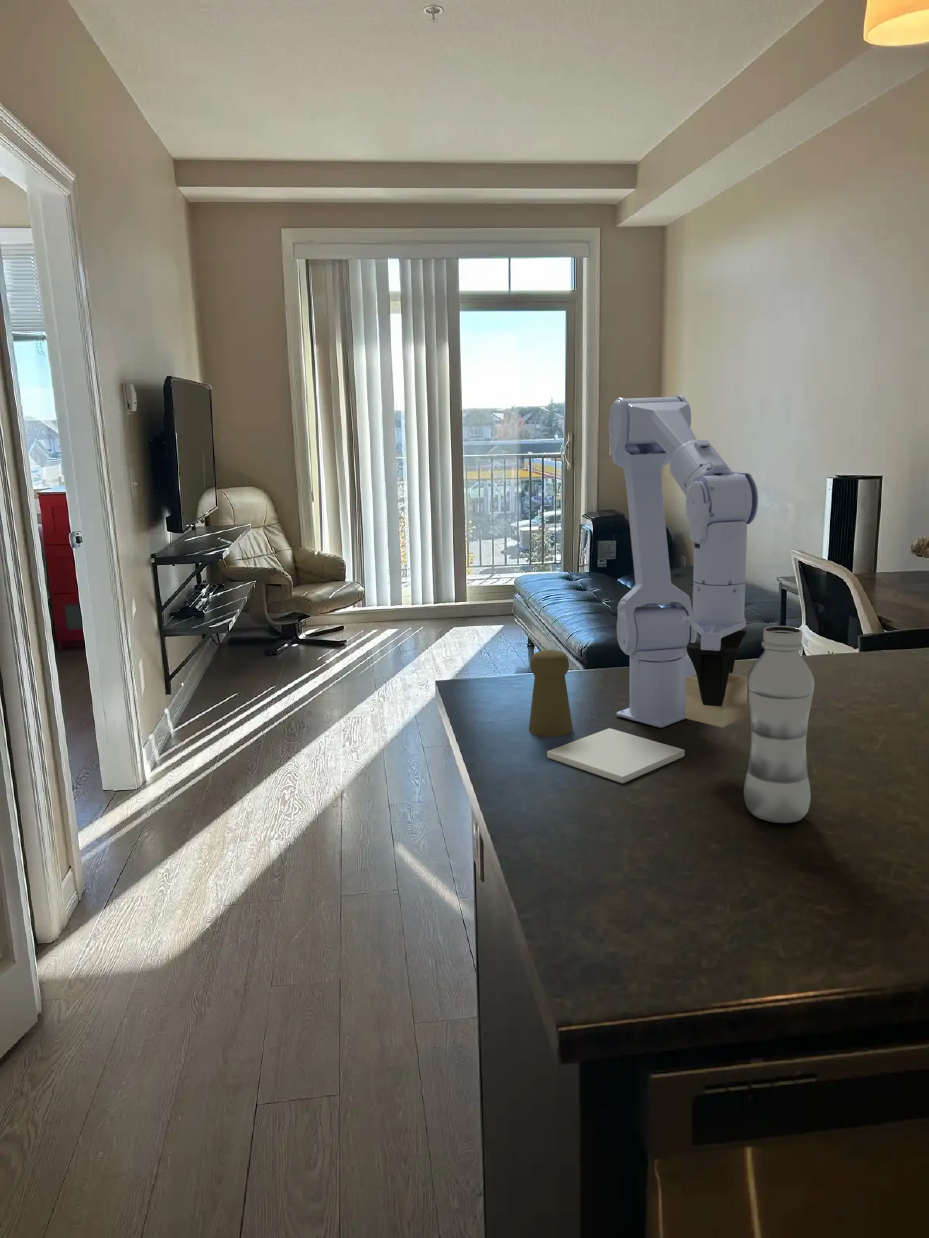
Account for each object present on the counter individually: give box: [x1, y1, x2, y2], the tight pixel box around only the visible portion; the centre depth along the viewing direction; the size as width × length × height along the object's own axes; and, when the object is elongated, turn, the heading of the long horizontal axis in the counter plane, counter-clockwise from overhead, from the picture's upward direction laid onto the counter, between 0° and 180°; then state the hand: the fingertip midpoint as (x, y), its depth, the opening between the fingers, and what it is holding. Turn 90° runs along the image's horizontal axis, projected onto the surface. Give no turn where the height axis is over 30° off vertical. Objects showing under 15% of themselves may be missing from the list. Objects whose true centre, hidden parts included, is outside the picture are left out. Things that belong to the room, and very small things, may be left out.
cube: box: [685, 672, 748, 728], centre depth 104 cm, size 5×5×5 cm
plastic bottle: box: [743, 625, 816, 824], centre depth 91 cm, size 6×7×20 cm
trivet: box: [546, 727, 686, 784], centre depth 111 cm, size 12×12×1 cm
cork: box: [528, 649, 574, 738], centre depth 121 cm, size 6×6×11 cm
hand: (716, 695), depth 104 cm, fingers closed on cube, 7 cm apart
